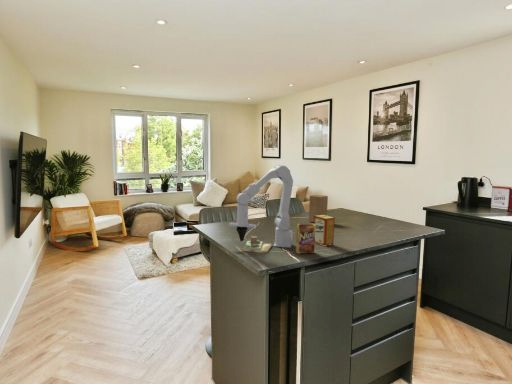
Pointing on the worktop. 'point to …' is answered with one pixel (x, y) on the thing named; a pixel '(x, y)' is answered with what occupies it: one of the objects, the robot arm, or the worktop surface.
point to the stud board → (264, 248)
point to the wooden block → (317, 206)
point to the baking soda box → (324, 229)
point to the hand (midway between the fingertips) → (241, 240)
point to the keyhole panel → (248, 246)
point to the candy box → (305, 238)
